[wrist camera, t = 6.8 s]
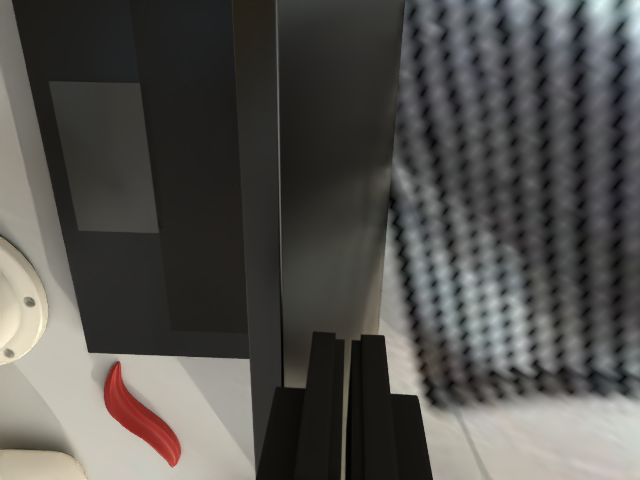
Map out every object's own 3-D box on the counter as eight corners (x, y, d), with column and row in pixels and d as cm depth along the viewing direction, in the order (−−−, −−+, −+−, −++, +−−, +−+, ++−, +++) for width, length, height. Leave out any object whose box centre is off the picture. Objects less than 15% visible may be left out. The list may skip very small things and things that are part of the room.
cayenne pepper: (93, 364, 39) (81, 380, 37) (146, 358, 38) (137, 373, 37) (139, 469, 44) (131, 488, 42) (187, 465, 43) (181, 483, 41)
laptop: (98, 339, 38) (87, 354, 36) (5, -121, 26) (-19, -132, 24) (362, 349, 37) (363, 364, 36) (393, -116, 25) (397, -127, 23)
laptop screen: (265, 726, 17) (289, 735, 17) (182, -735, 5) (265, -765, 5) (363, 363, 36) (375, 365, 35) (397, -127, 24) (415, -127, 23)
